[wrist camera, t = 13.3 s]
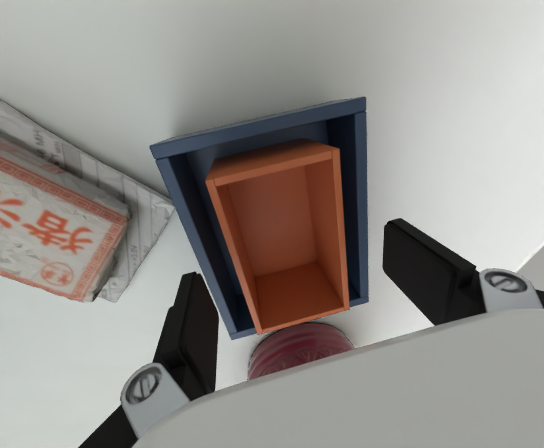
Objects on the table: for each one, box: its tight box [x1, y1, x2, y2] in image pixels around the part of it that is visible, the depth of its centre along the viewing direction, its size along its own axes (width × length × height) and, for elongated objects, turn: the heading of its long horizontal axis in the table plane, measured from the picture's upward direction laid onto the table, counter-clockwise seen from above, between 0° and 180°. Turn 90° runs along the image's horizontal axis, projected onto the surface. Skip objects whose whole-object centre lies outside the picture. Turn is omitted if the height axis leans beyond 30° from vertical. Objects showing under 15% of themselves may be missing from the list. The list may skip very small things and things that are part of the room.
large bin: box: [150, 97, 369, 340], centre depth 17 cm, size 15×11×5 cm
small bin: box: [205, 138, 350, 335], centre depth 16 cm, size 11×7×6 cm, turn 12°
